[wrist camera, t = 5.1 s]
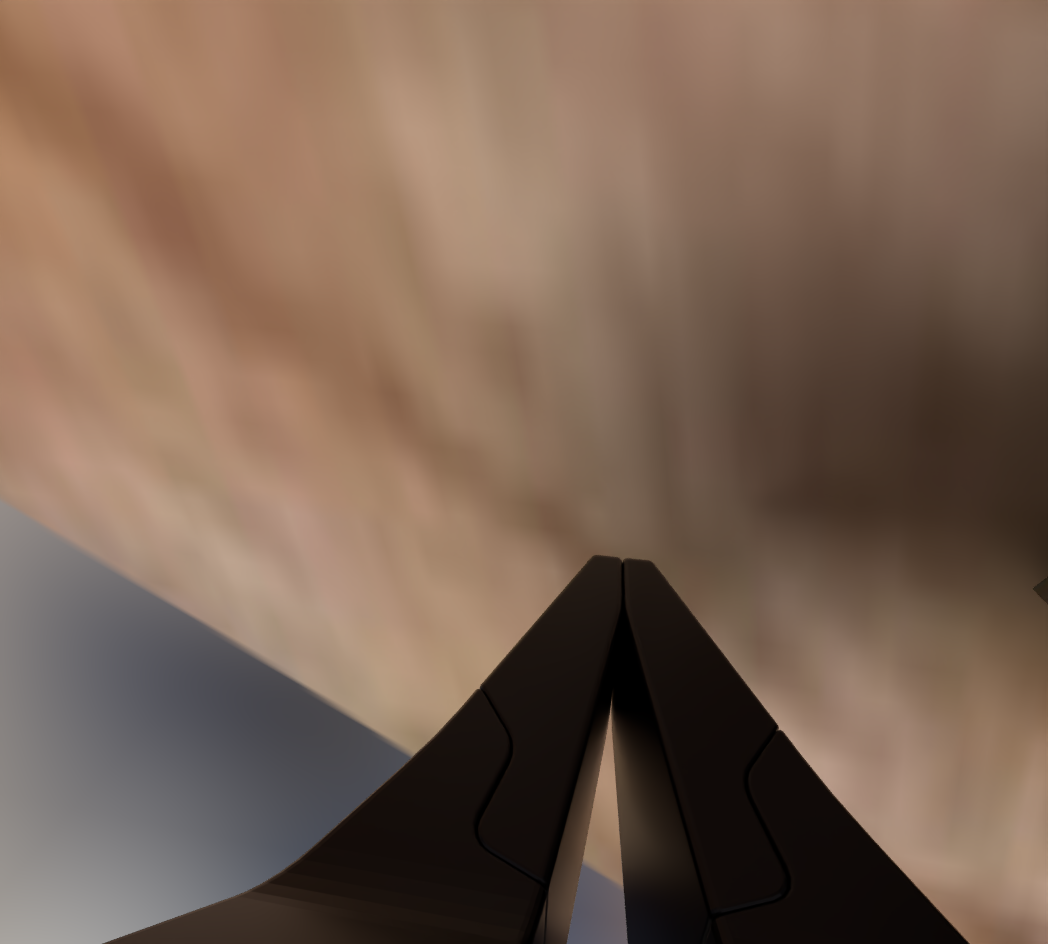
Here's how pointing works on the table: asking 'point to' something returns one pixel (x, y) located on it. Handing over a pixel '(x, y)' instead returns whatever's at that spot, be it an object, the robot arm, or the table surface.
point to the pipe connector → (1042, 590)
